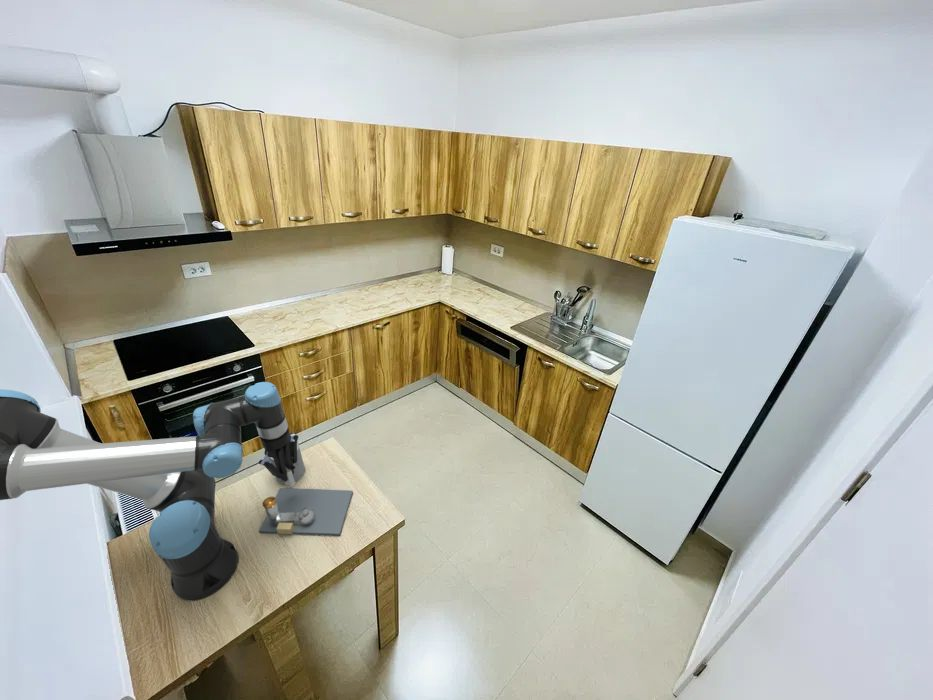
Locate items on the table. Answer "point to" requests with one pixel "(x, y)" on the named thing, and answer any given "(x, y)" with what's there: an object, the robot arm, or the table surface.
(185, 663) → the table surface
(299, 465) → the grey cylinder
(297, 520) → the bar
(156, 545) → the robot arm
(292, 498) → the plate
